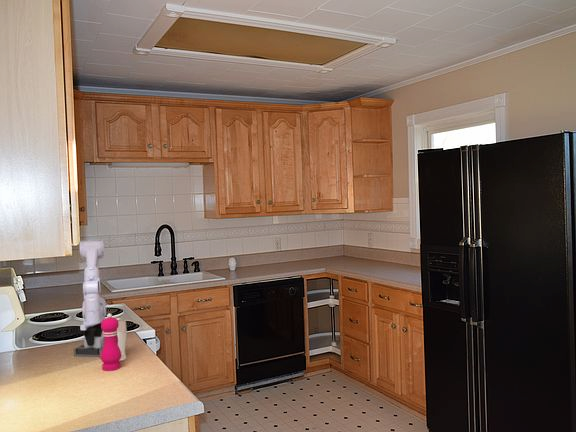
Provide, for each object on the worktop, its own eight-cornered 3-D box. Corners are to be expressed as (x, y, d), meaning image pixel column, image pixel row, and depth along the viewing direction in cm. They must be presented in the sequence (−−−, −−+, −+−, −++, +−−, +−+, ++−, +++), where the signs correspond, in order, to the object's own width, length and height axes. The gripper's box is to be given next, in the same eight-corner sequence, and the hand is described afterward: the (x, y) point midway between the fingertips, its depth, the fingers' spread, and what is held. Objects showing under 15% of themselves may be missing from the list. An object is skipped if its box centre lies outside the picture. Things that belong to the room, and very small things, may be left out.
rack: (87, 349, 207) (86, 341, 207) (113, 350, 205) (113, 342, 205) (74, 356, 198) (73, 347, 198) (101, 357, 196) (101, 348, 196)
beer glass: (130, 356, 196) (129, 318, 195) (122, 362, 189) (121, 322, 188) (113, 356, 196) (112, 318, 196) (105, 362, 189) (103, 322, 189)
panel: (87, 350, 203) (87, 336, 203) (103, 350, 202) (103, 337, 202) (84, 351, 201) (83, 338, 201) (100, 352, 200) (100, 338, 200)
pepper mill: (115, 371, 178) (113, 315, 177) (96, 371, 179) (94, 315, 179) (125, 365, 185) (123, 311, 184) (107, 364, 186) (105, 311, 186)
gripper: (93, 306, 209) (94, 338, 209) (72, 314, 195) (74, 348, 195) (109, 306, 208) (110, 338, 208) (89, 314, 193) (90, 349, 194)
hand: (93, 343), depth 201 cm, fingers open, 4 cm apart
